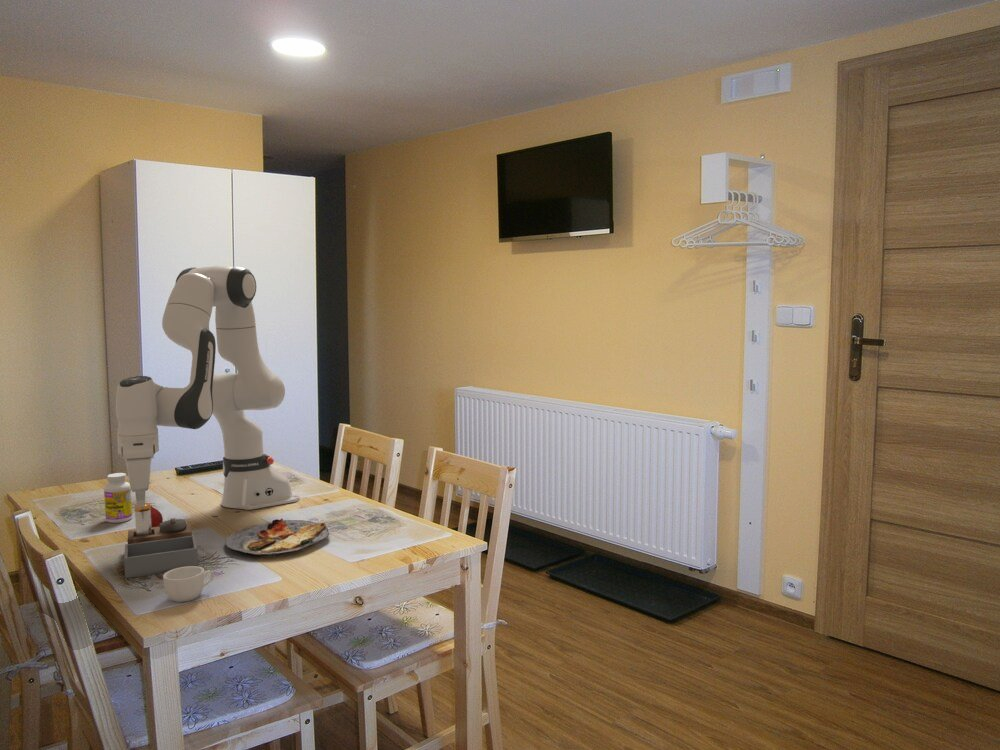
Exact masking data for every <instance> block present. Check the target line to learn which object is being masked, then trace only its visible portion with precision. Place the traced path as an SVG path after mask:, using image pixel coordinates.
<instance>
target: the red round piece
mask: <svg viewBox="0 0 1000 750" xmlns="http://www.w3.org/2000/svg"><path fill="white" fill-rule="evenodd" d="M150 510H151V527H160V523H162V522H164V521H163V520H164V517H163V515H162V513H161V512H160V511H159V510H158V509H157V508H154V506H153V505H151V504H150Z"/></svg>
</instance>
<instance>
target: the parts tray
mask: <svg viewBox="0 0 1000 750" xmlns="http://www.w3.org/2000/svg"><path fill="white" fill-rule="evenodd" d="M196 541H197V540H196V536H195V535H192V536H186V537H178V538H171V539H163V540H156V541H148V542H140V543H133V544H128V543H126V544H125V545H124V552H123V553H124V556H123V563H124V566H123V567H124V578H125V579H129V578H135V577H136V578H137V577H143V576H150V575H157V574H158V575H159V574H165V573H166V572H168V571H170V570H172V569H175V568H180V567H186V566H198V567H199V555H198V546H197V542H196Z"/></svg>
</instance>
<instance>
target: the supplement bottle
mask: <svg viewBox="0 0 1000 750" xmlns="http://www.w3.org/2000/svg"><path fill="white" fill-rule="evenodd" d="M106 477H107V479H106V480H107V482H108V483H107V484H105V485H104V488H103V494H104V495H103V496H104V497H103V498H104V510H105V511H104V513H105V521H106V522H107V523H111V524H120V523H124V522H128V521H130V520H131V519H132V518H133V506H132V502H133V501H132V491H131V488H130V483H129V481H127V473H125V472H116V473H110V474H108V475H107V476H106Z"/></svg>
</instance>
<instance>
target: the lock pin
mask: <svg viewBox="0 0 1000 750" xmlns="http://www.w3.org/2000/svg"><path fill="white" fill-rule="evenodd" d="M150 505H151V503H149V502H145V507H140V508H138V507H137V503H136V504H134V519H135V530H136V537H139V536H147V535H152V527H151V510H150Z"/></svg>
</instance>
